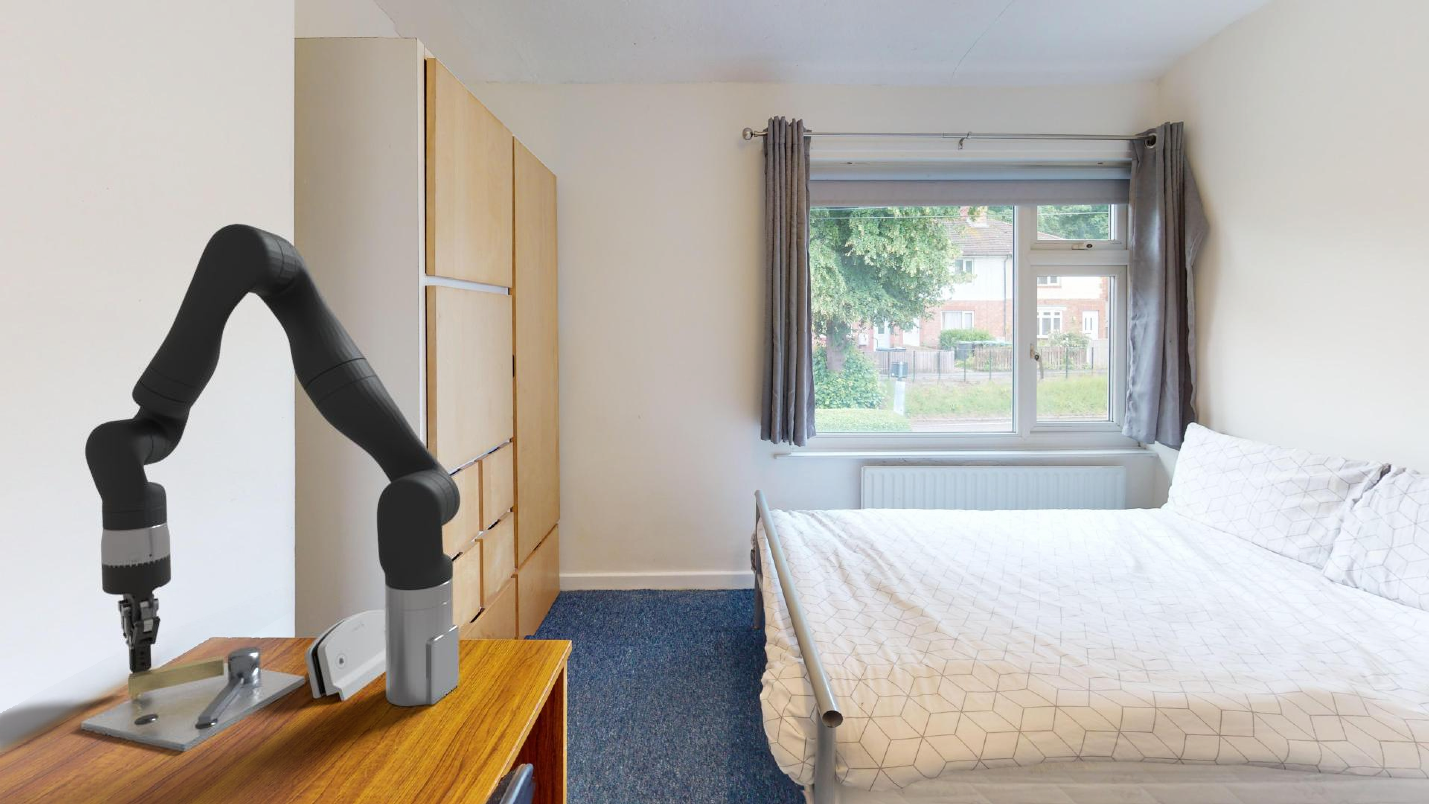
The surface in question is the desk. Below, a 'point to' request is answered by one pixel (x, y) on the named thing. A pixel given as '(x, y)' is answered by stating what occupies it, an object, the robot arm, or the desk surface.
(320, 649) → the light grey curved piece
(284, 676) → the mounting plate
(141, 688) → the leg
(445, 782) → the desk surface
